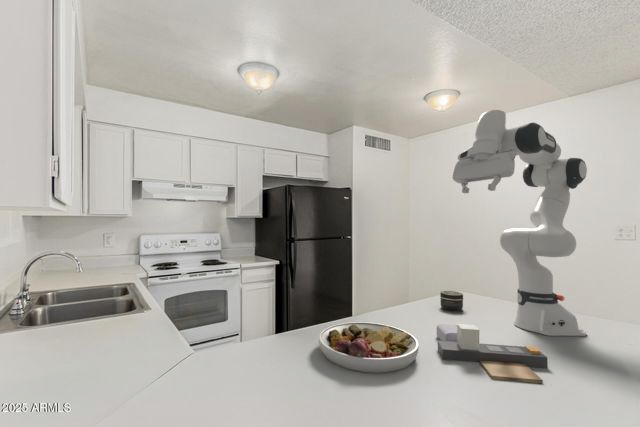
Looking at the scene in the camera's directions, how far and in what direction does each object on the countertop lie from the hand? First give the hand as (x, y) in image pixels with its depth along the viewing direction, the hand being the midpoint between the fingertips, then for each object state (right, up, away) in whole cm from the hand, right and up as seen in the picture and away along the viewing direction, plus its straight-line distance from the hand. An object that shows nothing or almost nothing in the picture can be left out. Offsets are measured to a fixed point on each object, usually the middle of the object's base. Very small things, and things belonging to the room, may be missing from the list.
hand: (477, 191), depth 103 cm
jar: (+10, -53, +43) cm, 69 cm away
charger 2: (-8, -49, -10) cm, 51 cm away
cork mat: (-1, -50, -19) cm, 54 cm away
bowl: (-38, -51, -8) cm, 64 cm away
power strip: (-2, -51, -11) cm, 52 cm away
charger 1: (-7, -52, +5) cm, 52 cm away
